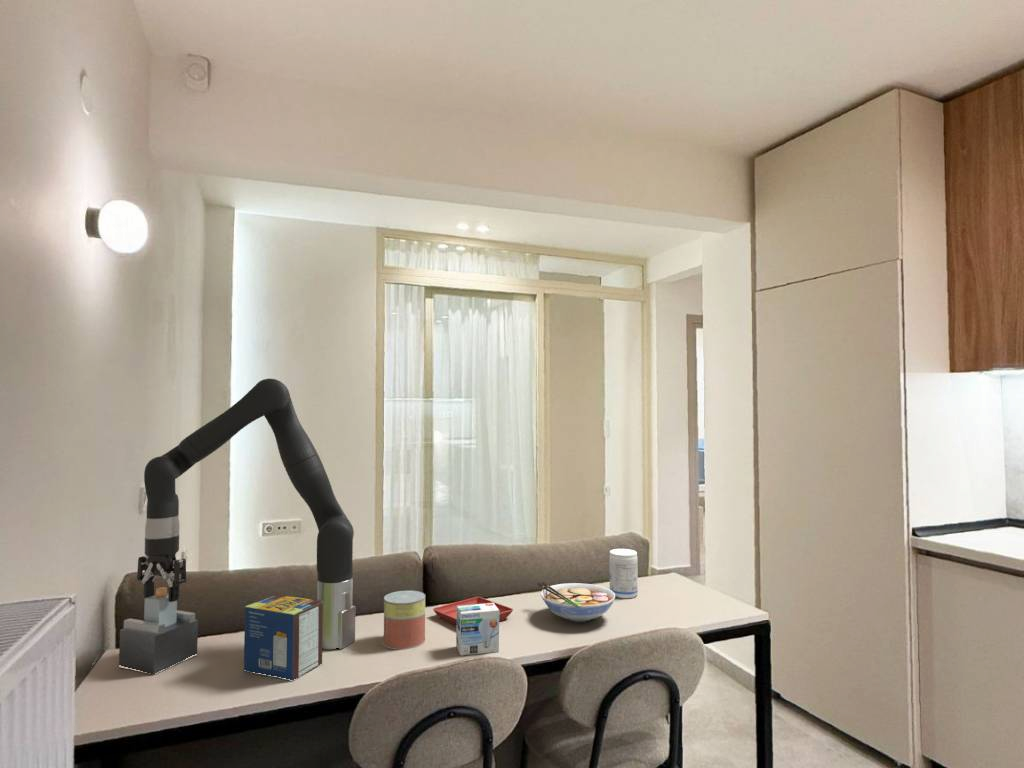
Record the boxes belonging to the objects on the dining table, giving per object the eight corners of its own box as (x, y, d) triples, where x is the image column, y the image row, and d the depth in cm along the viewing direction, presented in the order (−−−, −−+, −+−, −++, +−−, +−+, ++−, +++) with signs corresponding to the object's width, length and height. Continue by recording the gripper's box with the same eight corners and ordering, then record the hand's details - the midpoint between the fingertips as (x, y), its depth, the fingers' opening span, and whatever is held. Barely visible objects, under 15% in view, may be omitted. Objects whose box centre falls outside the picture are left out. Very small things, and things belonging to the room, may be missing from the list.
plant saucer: (431, 618, 177) (431, 607, 177) (478, 605, 189) (478, 595, 189) (466, 635, 163) (466, 623, 164) (514, 620, 175) (514, 609, 175)
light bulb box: (459, 656, 148) (460, 613, 149) (455, 646, 154) (455, 605, 155) (500, 652, 151) (500, 609, 151) (494, 642, 157) (494, 601, 158)
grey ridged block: (197, 655, 149) (198, 611, 150) (153, 675, 138) (155, 627, 138) (163, 649, 153) (164, 606, 154) (118, 667, 142) (120, 621, 143)
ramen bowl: (633, 626, 168) (632, 598, 169) (562, 638, 160) (562, 608, 160) (590, 601, 192) (590, 576, 192) (527, 610, 183) (527, 584, 184)
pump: (176, 622, 147) (177, 586, 148) (158, 629, 143) (159, 592, 143) (162, 620, 149) (163, 584, 150) (143, 627, 144) (145, 590, 145)
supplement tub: (608, 590, 204) (608, 548, 205) (636, 591, 203) (635, 548, 204) (610, 598, 194) (610, 554, 195) (639, 599, 193) (638, 555, 194)
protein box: (274, 655, 149) (275, 593, 150) (322, 664, 144) (323, 600, 145) (242, 671, 140) (243, 606, 140) (292, 682, 134) (293, 613, 135)
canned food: (431, 635, 162) (432, 592, 163) (414, 651, 151) (414, 604, 152) (395, 631, 165) (395, 589, 166) (375, 647, 154) (376, 601, 155)
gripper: (195, 533, 148) (194, 597, 147) (155, 530, 153) (154, 592, 152) (169, 539, 141) (167, 607, 140) (128, 535, 146) (126, 601, 145)
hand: (161, 599), depth 146 cm, fingers open, 8 cm apart
